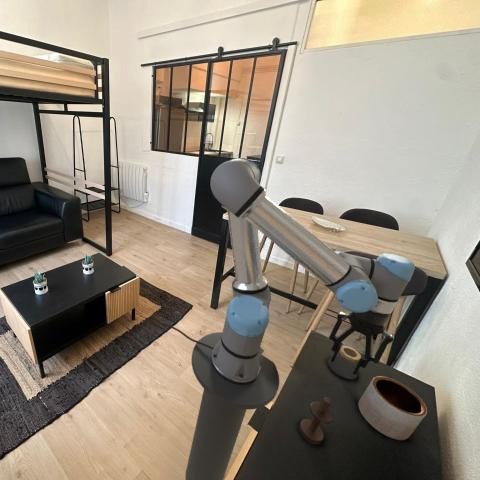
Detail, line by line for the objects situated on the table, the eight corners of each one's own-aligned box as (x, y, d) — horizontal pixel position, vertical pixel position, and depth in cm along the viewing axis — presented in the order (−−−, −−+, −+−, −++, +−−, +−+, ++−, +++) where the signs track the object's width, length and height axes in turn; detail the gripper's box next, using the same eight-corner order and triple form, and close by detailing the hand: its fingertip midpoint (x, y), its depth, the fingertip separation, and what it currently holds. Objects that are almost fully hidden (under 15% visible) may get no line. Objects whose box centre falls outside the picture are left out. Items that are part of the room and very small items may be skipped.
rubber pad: (324, 367, 81) (324, 366, 81) (331, 354, 86) (331, 353, 86) (353, 385, 76) (354, 383, 76) (359, 370, 81) (359, 368, 81)
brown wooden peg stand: (296, 432, 62) (312, 398, 57) (303, 418, 66) (318, 385, 61) (318, 449, 59) (337, 416, 54) (324, 434, 62) (342, 401, 57)
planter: (414, 451, 60) (434, 427, 57) (359, 424, 65) (375, 400, 61) (403, 413, 69) (420, 389, 65) (355, 391, 74) (369, 368, 70)
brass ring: (337, 353, 78) (338, 351, 78) (341, 345, 82) (342, 342, 82) (357, 365, 75) (359, 362, 75) (361, 355, 79) (362, 353, 78)
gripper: (333, 296, 75) (309, 353, 84) (416, 331, 63) (377, 393, 72) (340, 287, 79) (316, 342, 89) (418, 318, 68) (381, 378, 77)
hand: (343, 365), depth 80 cm, fingers closed on brass ring, 5 cm apart
